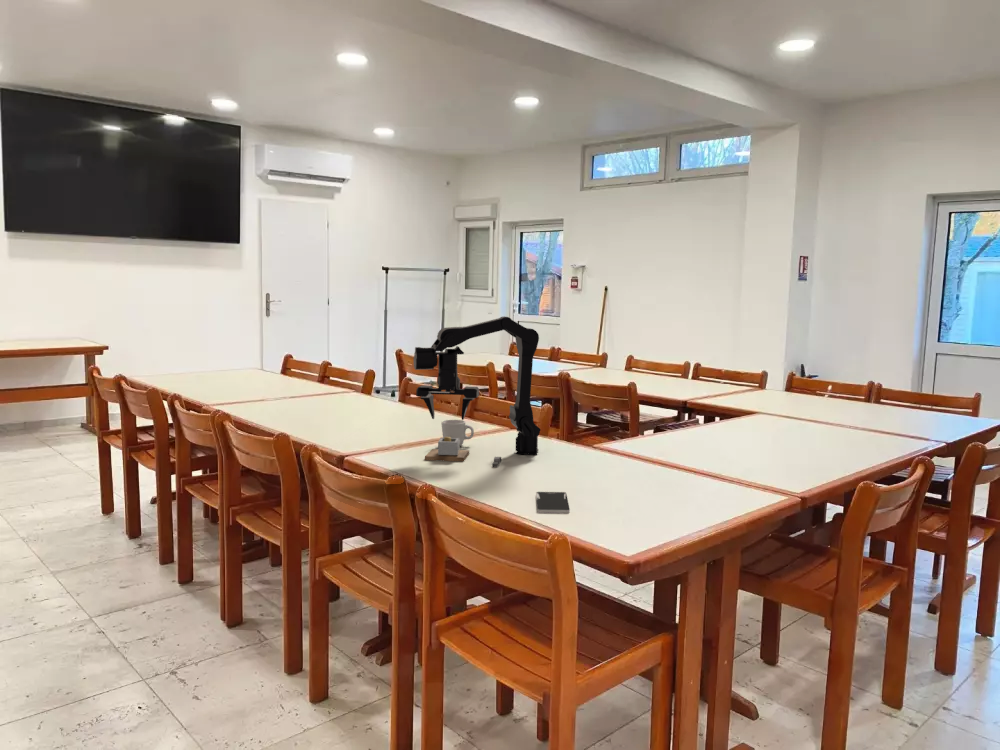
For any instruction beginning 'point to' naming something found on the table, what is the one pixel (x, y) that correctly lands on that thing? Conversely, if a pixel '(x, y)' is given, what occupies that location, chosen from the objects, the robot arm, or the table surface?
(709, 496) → the table surface
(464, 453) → the wooden peg board
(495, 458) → the grey long bar
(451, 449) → the end link
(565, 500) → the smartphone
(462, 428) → the cup
